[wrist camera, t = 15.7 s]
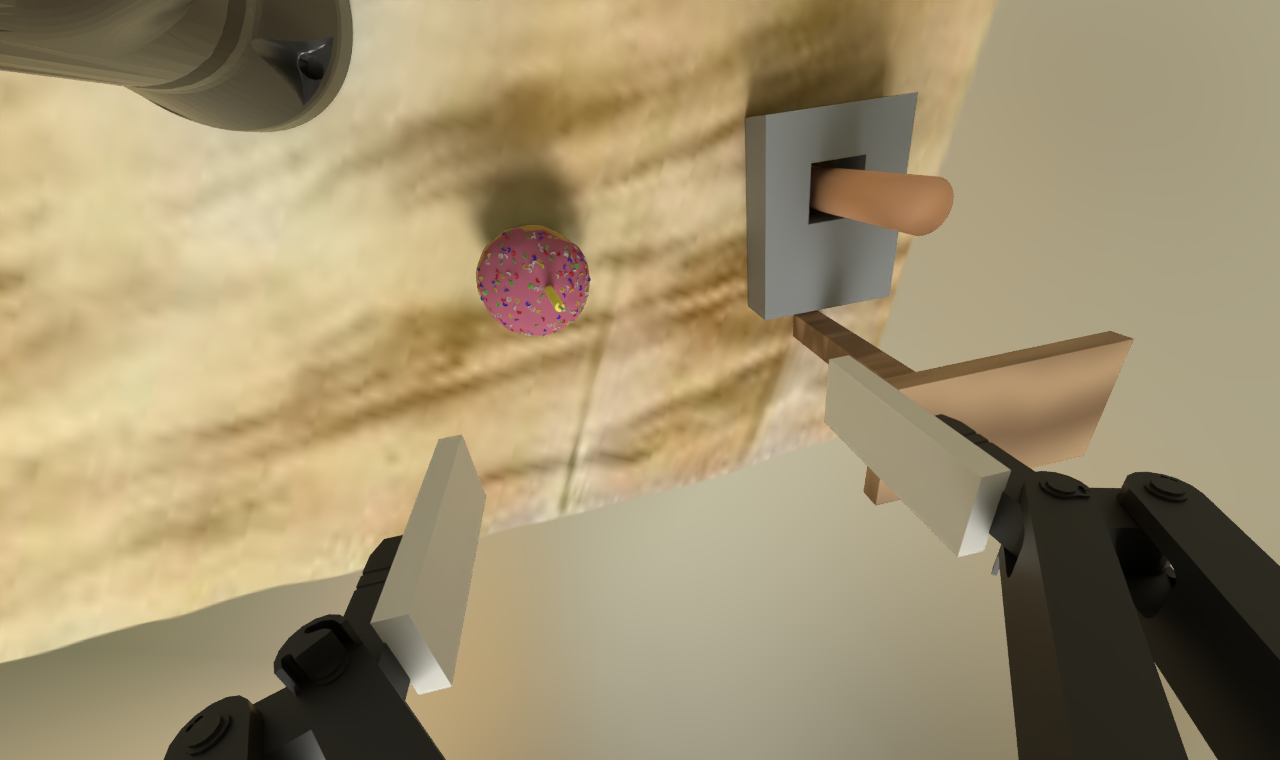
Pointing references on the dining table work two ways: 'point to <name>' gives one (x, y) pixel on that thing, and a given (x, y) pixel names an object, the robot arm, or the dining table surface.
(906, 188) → the peg
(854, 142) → the socket block
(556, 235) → the cupcake
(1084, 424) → the wooden t-shaped stand
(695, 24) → the dining table surface
